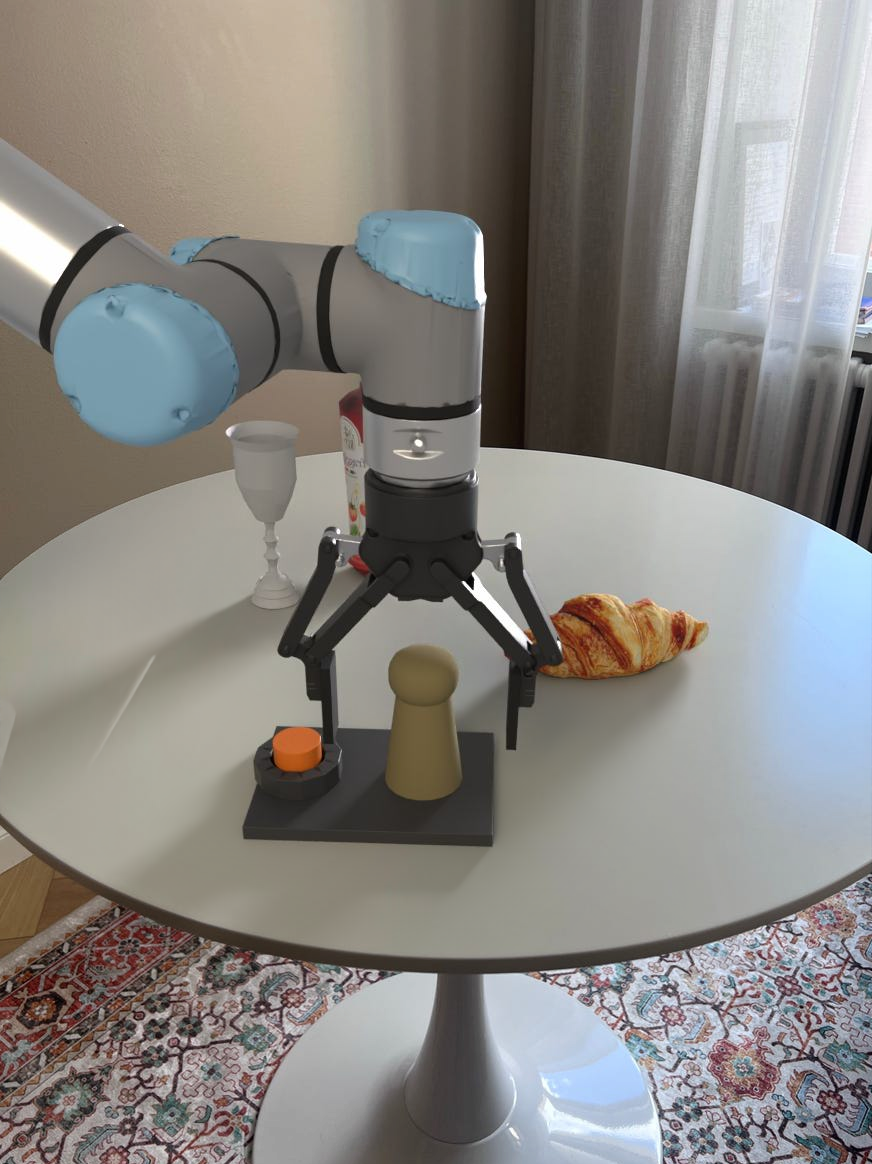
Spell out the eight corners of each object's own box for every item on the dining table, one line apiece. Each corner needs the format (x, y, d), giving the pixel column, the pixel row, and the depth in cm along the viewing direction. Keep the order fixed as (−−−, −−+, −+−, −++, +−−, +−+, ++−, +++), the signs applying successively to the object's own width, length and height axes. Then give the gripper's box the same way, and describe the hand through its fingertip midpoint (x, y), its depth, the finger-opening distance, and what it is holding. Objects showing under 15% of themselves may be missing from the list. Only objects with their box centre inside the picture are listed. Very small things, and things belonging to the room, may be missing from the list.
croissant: (685, 660, 105) (677, 583, 105) (739, 662, 95) (731, 577, 95) (491, 687, 98) (482, 605, 98) (529, 693, 89) (519, 602, 89)
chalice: (228, 594, 108) (211, 428, 99) (284, 577, 112) (272, 416, 103) (266, 620, 103) (251, 448, 94) (322, 600, 107) (313, 434, 98)
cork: (391, 805, 76) (388, 678, 71) (379, 758, 81) (375, 637, 76) (470, 794, 77) (473, 670, 72) (453, 749, 82) (455, 629, 77)
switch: (270, 772, 77) (268, 753, 76) (279, 744, 80) (277, 725, 79) (317, 773, 77) (316, 754, 76) (325, 746, 80) (323, 727, 79)
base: (240, 840, 74) (236, 807, 72) (274, 737, 85) (271, 707, 84) (492, 847, 74) (493, 815, 72) (492, 744, 85) (494, 714, 84)
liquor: (423, 572, 114) (424, 314, 100) (367, 588, 110) (359, 322, 96) (388, 549, 119) (383, 301, 105) (333, 564, 115) (321, 308, 101)
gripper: (217, 482, 63) (245, 760, 74) (618, 495, 63) (590, 772, 74) (243, 443, 70) (266, 704, 80) (606, 455, 70) (582, 714, 80)
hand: (421, 737), depth 77 cm, fingers open, 13 cm apart
